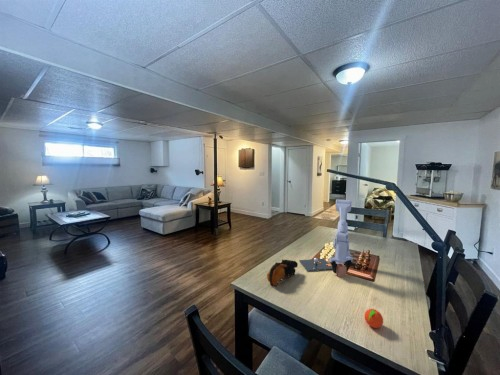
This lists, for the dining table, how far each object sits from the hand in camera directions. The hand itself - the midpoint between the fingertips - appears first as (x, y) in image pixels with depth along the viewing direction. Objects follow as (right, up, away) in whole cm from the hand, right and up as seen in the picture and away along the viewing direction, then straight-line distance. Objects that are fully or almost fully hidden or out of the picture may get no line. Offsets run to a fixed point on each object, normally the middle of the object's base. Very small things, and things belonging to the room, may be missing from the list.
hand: (340, 272), depth 133 cm
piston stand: (-12, 0, +12) cm, 16 cm away
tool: (-36, -2, -4) cm, 36 cm away
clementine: (-4, -7, -42) cm, 43 cm away
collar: (0, -1, 0) cm, 1 cm away
